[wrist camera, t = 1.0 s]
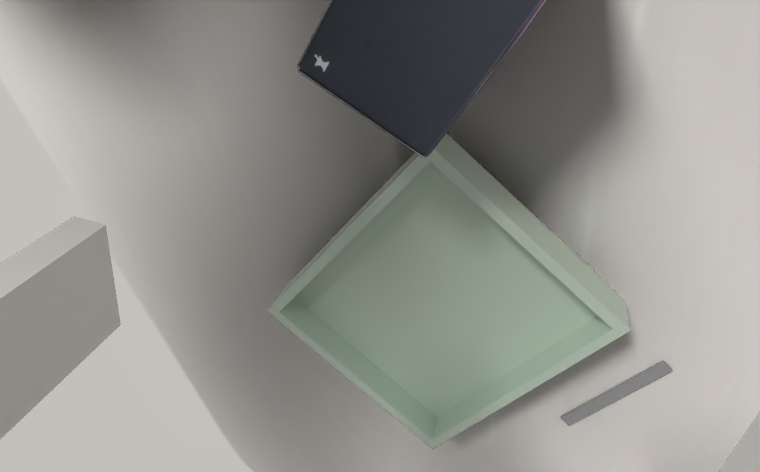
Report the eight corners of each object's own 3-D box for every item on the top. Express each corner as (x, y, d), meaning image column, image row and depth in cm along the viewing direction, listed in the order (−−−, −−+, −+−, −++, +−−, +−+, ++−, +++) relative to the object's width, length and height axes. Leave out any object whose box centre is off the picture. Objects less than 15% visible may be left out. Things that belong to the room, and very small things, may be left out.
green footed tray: (294, 274, 39) (266, 310, 36) (444, 118, 31) (429, 144, 28) (444, 401, 41) (432, 449, 38) (622, 284, 33) (630, 330, 30)
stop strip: (560, 416, 39) (560, 418, 39) (663, 360, 35) (663, 362, 35) (569, 423, 39) (569, 425, 39) (671, 368, 35) (672, 370, 35)
